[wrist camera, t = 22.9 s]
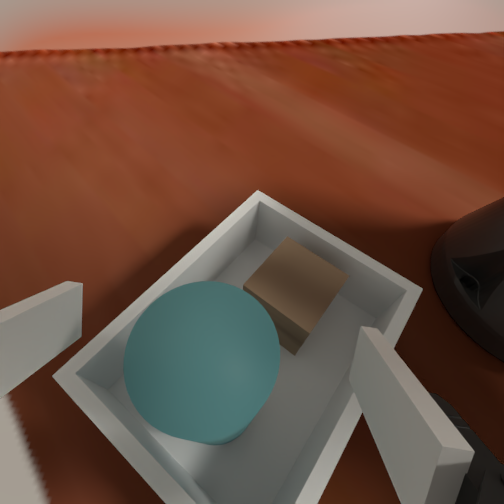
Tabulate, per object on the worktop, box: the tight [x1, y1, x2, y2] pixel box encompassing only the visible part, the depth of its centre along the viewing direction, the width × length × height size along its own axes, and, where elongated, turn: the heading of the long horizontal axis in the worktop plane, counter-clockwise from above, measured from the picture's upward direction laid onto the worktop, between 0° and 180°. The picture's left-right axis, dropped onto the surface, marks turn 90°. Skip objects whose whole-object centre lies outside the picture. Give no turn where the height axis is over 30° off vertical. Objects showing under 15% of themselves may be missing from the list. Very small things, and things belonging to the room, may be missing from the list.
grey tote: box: [52, 190, 423, 504], centre depth 20 cm, size 18×14×6 cm
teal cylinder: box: [123, 281, 280, 445], centre depth 15 cm, size 5×5×12 cm
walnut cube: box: [243, 236, 349, 356], centre depth 21 cm, size 5×5×5 cm
